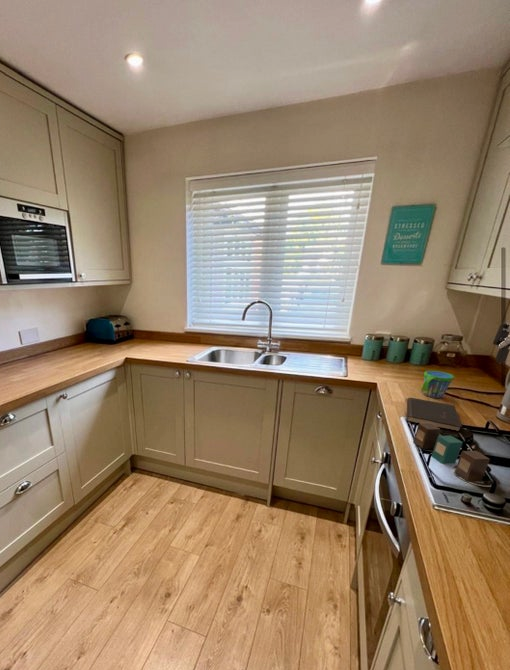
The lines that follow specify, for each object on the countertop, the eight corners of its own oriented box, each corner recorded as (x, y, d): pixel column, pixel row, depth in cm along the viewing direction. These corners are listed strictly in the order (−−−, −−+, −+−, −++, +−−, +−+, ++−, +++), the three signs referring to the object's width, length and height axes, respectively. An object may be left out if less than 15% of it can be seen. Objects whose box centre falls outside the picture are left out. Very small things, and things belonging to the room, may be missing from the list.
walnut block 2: (466, 476, 88) (476, 450, 85) (479, 485, 84) (490, 459, 82) (452, 477, 88) (461, 451, 85) (464, 486, 84) (474, 459, 81)
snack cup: (430, 401, 140) (437, 379, 136) (409, 393, 149) (414, 371, 145) (456, 398, 145) (464, 376, 141) (434, 390, 154) (440, 369, 150)
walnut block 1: (424, 446, 103) (431, 423, 100) (433, 452, 100) (440, 429, 97) (411, 446, 103) (418, 423, 100) (420, 453, 99) (427, 429, 96)
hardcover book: (452, 410, 131) (454, 405, 131) (460, 432, 113) (462, 426, 112) (406, 402, 139) (408, 397, 138) (406, 421, 120) (407, 415, 120)
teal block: (442, 459, 96) (450, 435, 93) (453, 467, 92) (463, 442, 89) (429, 460, 96) (437, 435, 93) (440, 468, 92) (449, 442, 89)
